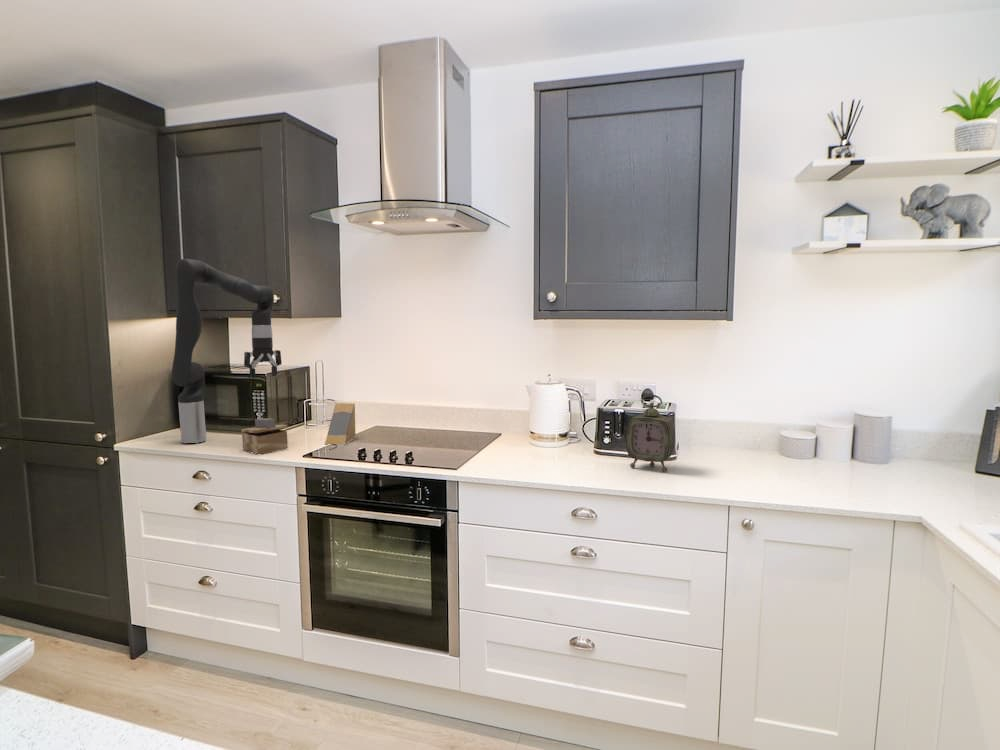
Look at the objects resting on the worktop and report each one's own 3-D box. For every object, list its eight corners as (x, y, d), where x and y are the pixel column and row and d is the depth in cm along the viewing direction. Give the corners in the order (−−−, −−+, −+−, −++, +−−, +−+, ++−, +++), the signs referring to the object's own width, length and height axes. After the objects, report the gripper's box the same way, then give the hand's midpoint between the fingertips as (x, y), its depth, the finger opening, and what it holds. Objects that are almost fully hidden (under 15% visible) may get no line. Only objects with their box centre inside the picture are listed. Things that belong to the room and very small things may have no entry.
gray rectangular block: (255, 427, 225) (254, 419, 225) (262, 426, 227) (261, 418, 227) (268, 428, 218) (267, 419, 218) (275, 426, 221) (274, 418, 220)
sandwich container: (323, 446, 230) (321, 409, 228) (336, 437, 245) (334, 403, 243) (344, 446, 229) (342, 409, 227) (356, 437, 244) (354, 403, 243)
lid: (241, 432, 223) (241, 429, 223) (271, 426, 232) (271, 424, 232) (257, 432, 215) (256, 430, 215) (287, 427, 224) (287, 424, 224)
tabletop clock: (625, 468, 192) (626, 394, 189) (633, 462, 200) (634, 391, 197) (668, 474, 184) (670, 397, 182) (675, 467, 192) (677, 394, 189)
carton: (243, 450, 224) (242, 432, 223) (272, 444, 233) (270, 427, 232) (258, 454, 216) (257, 436, 215) (287, 448, 225) (286, 431, 224)
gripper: (274, 335, 234) (275, 374, 236) (239, 336, 224) (241, 377, 226) (283, 336, 229) (285, 376, 231) (248, 337, 219) (250, 379, 221)
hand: (263, 377), depth 228 cm, fingers open, 8 cm apart
